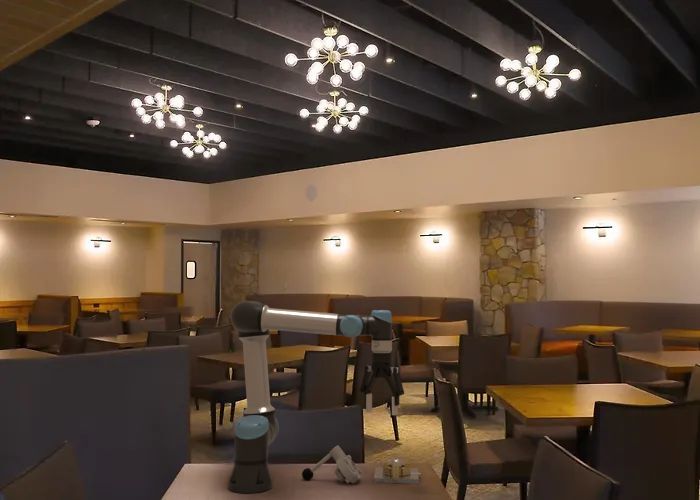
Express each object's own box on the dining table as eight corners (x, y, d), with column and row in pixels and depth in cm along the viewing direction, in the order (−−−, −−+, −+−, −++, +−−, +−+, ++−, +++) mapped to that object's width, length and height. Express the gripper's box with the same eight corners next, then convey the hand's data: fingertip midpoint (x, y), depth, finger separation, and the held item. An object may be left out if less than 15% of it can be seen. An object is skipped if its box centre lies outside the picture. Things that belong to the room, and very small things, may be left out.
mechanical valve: (359, 478, 211) (333, 443, 215) (321, 511, 212) (295, 475, 216) (365, 473, 221) (340, 440, 225) (328, 505, 222) (304, 470, 226)
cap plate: (373, 482, 217) (373, 463, 217) (376, 471, 232) (376, 453, 233) (420, 483, 215) (420, 464, 216) (420, 472, 231) (420, 454, 231)
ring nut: (383, 468, 229) (383, 455, 230) (410, 469, 228) (410, 456, 229) (381, 478, 216) (381, 464, 216) (410, 479, 215) (410, 465, 215)
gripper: (350, 351, 228) (350, 411, 225) (403, 353, 214) (403, 417, 212) (361, 350, 234) (361, 409, 231) (413, 352, 221) (414, 415, 218)
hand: (381, 413), depth 222 cm, fingers open, 10 cm apart
